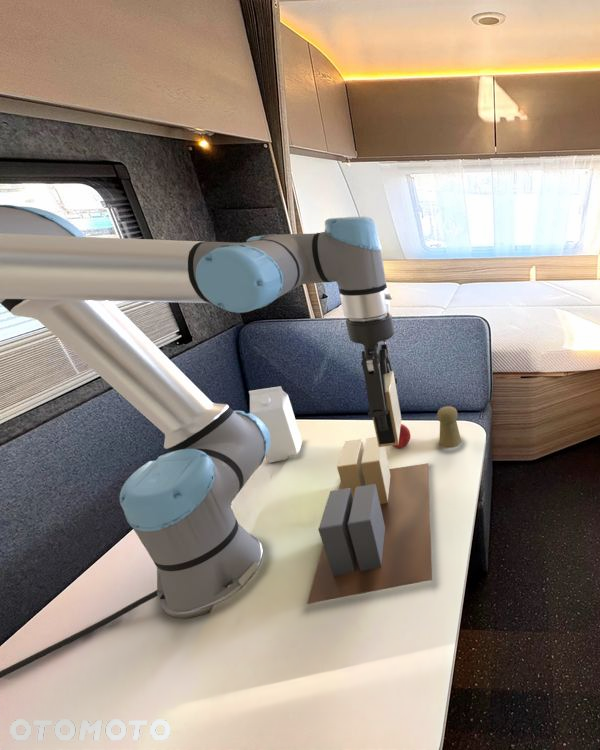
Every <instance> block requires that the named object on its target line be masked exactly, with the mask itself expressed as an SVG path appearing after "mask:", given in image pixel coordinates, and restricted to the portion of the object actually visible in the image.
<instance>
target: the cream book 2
mask: <svg viewBox="0 0 600 750" xmlns="http://www.w3.org/2000/svg"><path fill="white" fill-rule="evenodd" d="M384 377H385V387H386V392H385V393H386V399H387V406H388V410H390V415H391V421H392V426H393V431H394V437H395V443H388V444H379V439H378V434H377V430H376V425H375V420H374V417H372V422H373V426H374V432H375V437H377V441H378V446H379V447H384V446H385V447H391V446H392V445H399V435H400V427H401V424H402V414H401V407H400V402H399V397H398V391H397V384H395V379H396V378H395V373H394V370H393V371H390V373H386V374H385V375H384ZM392 447H393V446H392Z"/></svg>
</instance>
